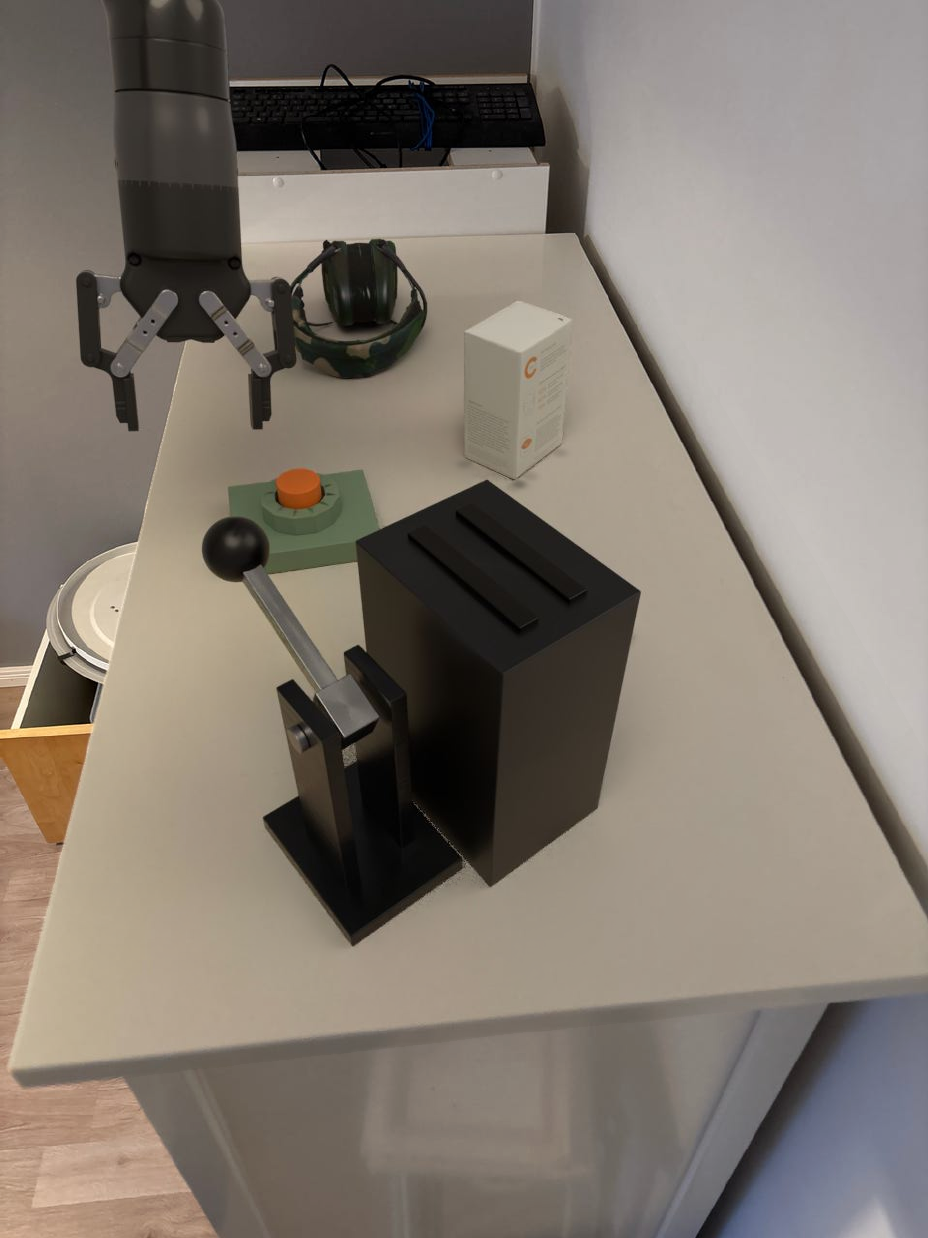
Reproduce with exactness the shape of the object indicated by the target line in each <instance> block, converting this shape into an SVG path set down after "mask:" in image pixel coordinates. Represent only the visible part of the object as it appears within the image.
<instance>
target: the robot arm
mask: <svg viewBox="0 0 928 1238" xmlns="http://www.w3.org/2000/svg"><path fill="white" fill-rule="evenodd" d="M100 1H101V4H102V8H103V11H104V13H105V19H106V26H107V28H106V29H107V40H108V50H109V61H110V70H111V71H110V72H111V80H112V82H111V83H112V90H113V94H112V97H113V120H112V121H113V123H112V125H113V126H112V132H113V133H112V134H113V147H114V148H113V149H114V150H113V151H114V167H115V170H116V177H117V178H116V180H117V190H118V199H119V200H118V201H119V211H120V219H121V231H122V241H123V250H124V260H125V261H124V268H123V272H122V273H121V275H112V274H101V273H95V272H94V271H92V270H90V269H84V270H82V271H80V272H79V273H78V275H77V276H76V279H75V284H76V286H75V287H76V288H75V289H76V302H77V320H78V321H77V322H78V337H79V338H78V339H79V352H80V353H79V355H80V361H81V363H82V364H83V365H84V366H85V367H87V368H94V369H97V370H100V371H103V372H105V373H107V374H108V376H109V377H110V378H111V381H112V390H113V401H114V408H115V409H114V410H115V416H116V418H117V421H118V422H119V424H127V430H128V432H140V423H139V413H138V411H139V410H138V403H137V402H138V401H137V391H136V381H135V373H133V372H132V369H133V368H134V366H135V365H136V363H137V362H138V360H139V359H140V358H141V356H142V354H143V353H144V352H145V351H146V350H147V348H148V347H149V346H150V344H151V343H152V341H153V339H154V338H155V337H158V338H159V339H161V340H163V341H166V342H167V343H182V342H187V341H190V340H191V341H195V342H199V343H203V344H215V343H216V342H217V341H219V340H222V339H223V338H224V337H226V338H227V340H228V341H229V342H230V344H231V345H232V346H233V347H234V348H235V350H236V351H237V352H238V354H239V355H240V356H241V357H242V358H243V359H244V361H245V362H246V363H247V364H248V366H249V367H250V373H247V383H248V404H249V421H250V422H249V423H250V426H251V427H250V428H251V429H252V430H253V431H254V430H255V431H256V430H257V431H259V430H260V431H262V430H263V429H264V422H270V420H271V417H272V415H273V414H272V413H273V412H272V389H271V387H272V386H271V380H272V377H273V375H274V374H275V373H276V372H280V371H282V370H284V369H291V368H294V367H295V366H296V364H297V361H298V360H297V349H296V347H295V335H294V323H293V312H292V300H291V288H290V286H291V284H290V283H289V282H288V281H287V279H284V278H283V277H281V276H273V277H272V278H270V279H248V277H247V275H246V273H245V270H244V266H243V251H242V231H241V211H240V209H241V208H240V189H239V168H238V149H237V139H236V138H237V137H236V133H235V127H234V122H233V114H232V105H231V103H230V102H231V87H230V85H231V84H230V68H229V66H230V65H229V49H228V48H229V47H228V35H227V34H228V33H227V25H226V18H225V17H226V16H225V13H224V10H223V7H222V5H221V2H219V0H100ZM117 292H120V293H121V295H122V296H123V298H124V299H125V300H126V301H127V303H129V305H130V306H131V307H132V308H133V310H134V311H135V312H136V314H137V315H138V316H139V318H137V320H136V322H135V324H134V325H133V327H132V328H131V329H130V331H129V333H127V335H126V337H125V339H124V340H123V342H122V343H121V345H120V346H119V348H118V349H117V351H116V352H114V351H112V350H108V349H105V348H103V347H102V336H101V335H102V333H101V317H100V316H101V315H100V314H101V313H100V309H106V308H108V307H109V306H110V304H111V301H112V297H113V295H114V294H116V293H117ZM251 296H254V297H256V298H257V299H258V301H259V304H260V306H261V308H262V309H263V310H264V311H266V312H269V313H270V315H271V325H272V334H273V335H272V336H273V346H274V349H273V350H271V351H267V352H265V353H262V352H261V351H260V349H259V348H258V346H257V345H256V344H255V343H254V342H253V340H252V338H250V336H249V335H248V334H247V333H246V332H245V330H244V329H243V328H242V326H241V325H240V324H239V322H238V321H237V319H238V317H239V315H240V314H241V312H242V311H243V309H244V308H245V307H246V305H247V303H248V302H249V300H250V298H251Z"/></svg>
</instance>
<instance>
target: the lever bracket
mask: <svg viewBox="0 0 928 1238" xmlns="http://www.w3.org/2000/svg"><path fill="white" fill-rule="evenodd" d="M343 661H344V669H345V676H347V675H348V674H352V676H353V677H354V679H355V680H356V682H357V683H358V685H359V686H360V688H361V689H362V691H363V692H364V694H365V695H366V697H367V698H368V700H369V701H370V703H371V704H372V706H373V707H374V709H375V710H376V712H377V713H378V714H379V716H380V718H379V720H378V722H377V724H376V726H375V728H374V730H373V732H372V733H371V734H369V735H367V736H366V737H364V738H362V739H361V740H359V741H357V742H355V743H354V749H355V750H354V751H355V757H356V760H355V761H354V762H351V763H349V764H348V765H346V766H345V762H344V761H345V760H344V753H343V750H342V746H341V739H340V732H339V731H338V730H337V729H336V727H335V726H334V725H333V724H332V723H331V722H330V721H329V719H328V718H327V717H326V716H325V715H324V714H323V713H322V711H321V710H320V709H319V708H318V707H317V706H316V705H315V703H314V702H313V699H311V698H310V696H309V695H308V694H307V693H306V692H305V691H304V689H302V687H301V686H300V685H299V684H298V683H297V681H295V679H294V678H291V679H289V680H287V681H285V682H283V683H282V684H280V685H278V686H276V687H275V689H276V694H277V699H278V703H279V709H280V713H281V718H282V722H283V728H284V733H285V737H286V742H287V747H288V751H289V756H290V760H291V766H292V771H293V775H294V780H295V784H296V785H295V786H296V789H297V794H298V795H297V796H295V797H293V798H292V799H290V800H289V801H287V802H285V803H283V804H282V805H280V806H279V807H277V808H275V809H273V810H271V811H270V812H268V813H267V814H265V815H263V817H262V820H263V824H264V828H265V829H266V830H267V832H268V833H269V834H270V836H271V838H272V839H273V840H274V842H275V843H276V845H278V847H279V848H280V850H281V851H282V852H283V854H284V855H285V856H286V858H287V860H288V861H289V862H290V864H291V866H293V868H294V869H295V870H296V872H297V874H299V875H300V877H301V878H302V880H303V881H304V882H305V884H306V885H307V887H308V888H309V889H310V891H311V893H313V895H314V896H315V898H316V899H317V901H318V902H319V903H320V905H321V906H322V907H323V908H324V910H325V911H326V913H327V914H328V916H329V917H330V918H331V919H332V921H333V922H334V924H335V925H336V927H337V928H338V929H339V930H340V932H341V934H342V935H343V936H344V937H345V939H346V940H347V942H348V943H349V944H350V946H352V947H354V946H356V945H357V944H359V943H360V942H361V941H362V940H364V939H366V938H367V937H368V936H370V935H371V934H373V933H374V932H375V931H377V930H378V929H380V928H381V927H382V926H384V925H385V924H387V923H388V922H390V921H391V920H392V919H393V918H395V917H397V916H398V915H399V914H401V913H402V912H403V911H405V910H406V909H408V908H409V907H411V906H412V905H414V904H415V903H416V902H418V901H420V899H422V898H423V897H424V896H426V895H427V894H429V893H430V892H432V891H433V890H434V889H436V888H438V886H440V885H442V884H443V883H444V882H446V881H447V880H449V879H450V878H451V877H453V876H454V875H456V874H457V873H458V872H460V871H461V870H462V869H463V856H462V855H461V854H460V853H459V852H457V850H456V849H455V847H454V846H453V845H452V844H451V843H450V842H449V841H448V840H447V838H446V837H445V836H444V835H443V834H442V833H441V832H439V829H438V828H437V827H436V826H435V825H434V824H433V823H432V822H431V820H430V819H429V818H428V817H427V816H426V815H425V814H424V813H423V811H422V810H421V809H420V808H419V807H417V805H416V804H415V802H414V801H413V800H412V782H411V764H410V745H409V727H408V708H407V693H406V692H405V691H404V690H403V689H402V688H401V687H400V686H399V685H398V684H397V683H396V682H395V681H394V680H393V679H392V678H391V677H390V676H389V675H388V674H387V673H386V672H385V671H384V670H383V669H382V668H381V667H380V666H379V665H378V664H377V663H376V662H375V661H374V660H373V659H372V657H371V656H370V655H369V654H368V653H367V652H366V649H364V648H363V647H362V646H361V645H360V644H356V645H353V646H352V647H350V648H348V649H346V650H345V651H343Z"/></svg>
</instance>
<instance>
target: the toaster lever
mask: <svg viewBox="0 0 928 1238" xmlns="http://www.w3.org/2000/svg"><path fill="white" fill-rule="evenodd" d="M201 555H202V558H203V561H204V564H205V565H206V567H207V569H208V570H209V571H210V572H211V573H212V575H214V576H216V577H217V578H218V579H221V580H223V581H225V582H229V583H243V584H244V586H245V588H246V589H247V591H248V592H249V594H250V595H251V597H252V599H253V600H254V601H255V603H256V604H257V606H258V607H259V610H260V611H261V612H262V613H263V615H264V617H265V618H266V619H267V621H268V623H269V624H270V626H271V627H272V628H273V630H274V631H275V634H276V635H277V637H278V638H279V639H280V641H281V642H282V644H283V645H284V647H285V649H286V650H287V652H288V653H289V655H290V657H292V659H293V660H294V662H295V664H296V665H297V668H299V670H300V672H301V673H302V674H303V676H304V677H305V679H306V680H307V682H308V683H309V685H310V687H311V688H312V689H313V692H314V695H313V698H312V701H313V702H314V703H315V705H316V706H317V707H318V708H319V709H320V710H321V711H322V713H323V714H324V715H325V716H326V717H327V718H328V719H329V721H330V722H331V723H332V724H333V725H334V726H335V727H336V729H337V730H338V731H339V732H340V739H341V746H342V751H344V750H346V749H347V748H349V747H350V746H352V745H355V742H357V741H359V740H361V739H362V738H364V737H366V736H367V735H369V734H371V733H372V732H373V730H374V728H375V726H376V724H377V722H378V720H379V718H380V716H379V714H378V713H377V712H376V710H375V709H374V707H373V706H372V704H371V703H370V701H369V700H368V698H367V697H366V695H365V694H364V692H363V691H362V689H361V688H360V686H359V685H358V683H357V682H356V680H355V679H354V677H353V676H352V674H348V675H347V676H346V675H345V676H343V677H341V678H337V676H336V675H335V673H334V672H333V670H332V669H331V667H330V666H329V664H328V663H327V662H326V660H325V658H324V657H323V655H322V653H321V652H320V651H319V649H318V648H317V646H316V645H315V643H314V642H313V640H312V639H311V638H310V636H309V634H308V633H307V632H306V630H305V628H304V627H303V625H302V624H301V622H300V620H299V619H298V618H297V616H296V615H295V613H294V612H293V611H292V609H291V607H290V606H289V604H288V603H287V601H286V600H285V598H284V596H283V595H282V594H281V592H280V591H279V589H278V587H277V586H276V585H275V583H274V581H272V579H271V577H270V576H269V574H267V573H266V571H265V570H264V568H265V566H266V564H267V562H268V559H269V555H270V545H269V541H268V538H267V536H266V534H265V532H264V531H263V529H262V528H261V527H260V526H259V525H258V524H256V523H255V522H254V521H252V520H250V519H248V518H245V517H239V516H231V517H230V516H226V517H223V518H221V519H219V520H217V521H215V522H214V523H213V524H211V525H210V527H209V528H208V529H207V531H206V532H205V534H204V537H203V539H202V543H201Z"/></svg>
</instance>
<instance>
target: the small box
mask: <svg viewBox="0 0 928 1238" xmlns="http://www.w3.org/2000/svg"><path fill="white" fill-rule="evenodd" d="M573 327H574V319H573V318H570V317H568V316H565V315H562V314H561V313H557V312H554V311H551V310H549V309H545V308H542V307H540V306H536V305H534V304H531V303H528V302H524V301H521V300H515V301H513V302H512V303H510V304H508V305H507V306H506V307H504V308H502V309H500V310H499V311H497V312H495V313H493V314H492V315H489V316H488V317H486V318H485V319H483V320H481V321H480V322H478V323H476V324H475V325H473V326H471V327H469V328H467V329H465V330H464V331H463V342H464V343H463V456H464V457H465V458H466V459H468V460H470V461H473V462H474V463H477V464H479V465H481V466H483V467H485V468H488V469H489V470H492V471H494V472H497V473H499V474H501V475H502V476H505V477H507V478H509V479H513V480H516V479H518V478H519V477H520V476H521V475H523V474H524V473H525V472H527V471H528V470H529V469H531V468H532V467H534V465H536V464H537V463H538V462H540V461H541V460H542V459H544V458H545V457H546V456H548V455H549V454H550V453H551V452H553V451H554V450H555V449H557V448H558V447H559V446H561V445H562V444H563V433H564V422H565V412H566V411H565V409H566V399H567V391H568V389H567V388H568V380H569V371H570V369H569V368H570V361H571V360H570V359H571V347H572V338H573V337H572V336H573Z"/></svg>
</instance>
